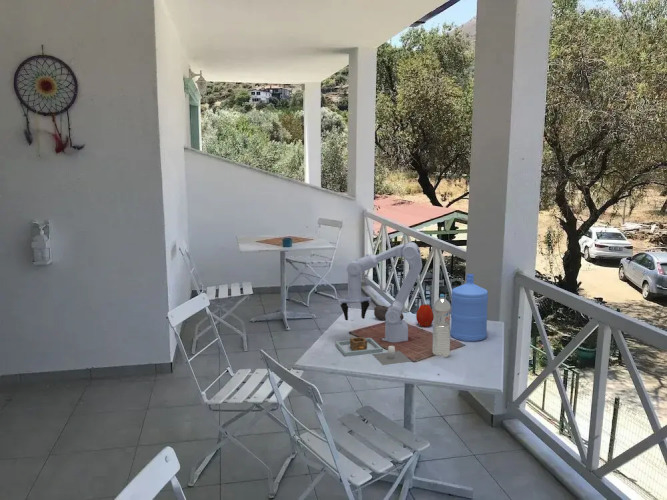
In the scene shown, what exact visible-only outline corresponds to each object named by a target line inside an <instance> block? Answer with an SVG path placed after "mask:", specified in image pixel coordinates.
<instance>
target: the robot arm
mask: <svg viewBox="0 0 667 500" xmlns="http://www.w3.org/2000/svg"><path fill="white" fill-rule="evenodd" d="M421 254H422V253H421V250H420V247H419V246H418V243H415V242H413V241H409V242H406V243H401V244H399V245H395V246H394V247H391V248H389V249H387V250H385V251H383V252H380V253H377V254H373V253H370V254H369V253H367V254H365V256H362V257H361V258H358V257H357V258H356V259H355V260H353V261H350V262H349V263H348V264H347V266H346V272H347V297H343V298H338V299H337V304H338V305H340V307H341V310H342V312H343V316H344V320H345V321H349V315H348V314H349V313H348V312H349V305H348V304H358V303H360V308H361V313H360V314H361V315H360V317H361V318H362V319H366V318H365V317H366V313H367V311H368V308H369V306H370V303H371V302H372V297H371V296H362V277H361V275H362V274H361V272H366V271H369V270H370V269H374V268H376V267H377V266H378V264H379V262H383V261H386V260H389V259H391V258H394V257H398V258H404V259H405V261H406V262H407V264H408V266H409V270H408V272H407V274H406V276H405V277H404V280H403V282H402V284H401V286H400V288H399V290H398V292H397V294H396V295H395V296H396V297H395V298H394V300H393V301H392V302H393V303H391V304H390V305H388V306H387V307H388V310H387V312H386V314H385V319H386V320H384V321H385V322H384V324H385V325H384V334H385V335H384V337H383V338H381V341H383V342H384V341H385V342H387V343H400V342H406V341H409V326H408V322H406V320H401V318H400V316H401V313H403V311H402V310H403V307H404V306H405V303H406V301H407V300H408V297H409V295H410V294H411V291H412V290H413V287H414V285H415V284H416V281H417V280H418V277H419V275H420V273H421V271H422V268H423V262H422V256H421Z"/></svg>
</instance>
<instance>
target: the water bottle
mask: <svg viewBox="0 0 667 500" xmlns="http://www.w3.org/2000/svg"><path fill="white" fill-rule="evenodd" d="M451 310H452V304H451V303H450V302H449V300H447V299H446V298H445V294H443V293H441V294H439V298H438V299H437V300H436V301H434V303H433V322H432V354H433V355H435V356H440V357H443V358H447V357H448V358H449V357H450V354H451V349H450V348H451Z"/></svg>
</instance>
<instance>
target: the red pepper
mask: <svg viewBox="0 0 667 500" xmlns="http://www.w3.org/2000/svg"><path fill="white" fill-rule="evenodd" d="M433 315H434V310H432V307H431V306H430V305H429V304H426V303H424V304H421V305H420V306H419V307H418V309H417V311H416V316H415V317H416V322H417V324H418V325H419V326H420V327H424V328H427V327H431V325H433Z"/></svg>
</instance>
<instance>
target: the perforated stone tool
mask: <svg viewBox="0 0 667 500" xmlns="http://www.w3.org/2000/svg"><path fill="white" fill-rule="evenodd" d="M388 307H389V306H386V305H381V304H380V305H376V306H375V307H374V309H373V310H374V311H373V315H374V318H376V319H378V320H382V321H385V320H386V319H385V314H386V312H387V310H388ZM400 318H401V320H402V321H404V318H405V316H404V314H403V312H402V313H401V316H400Z"/></svg>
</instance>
